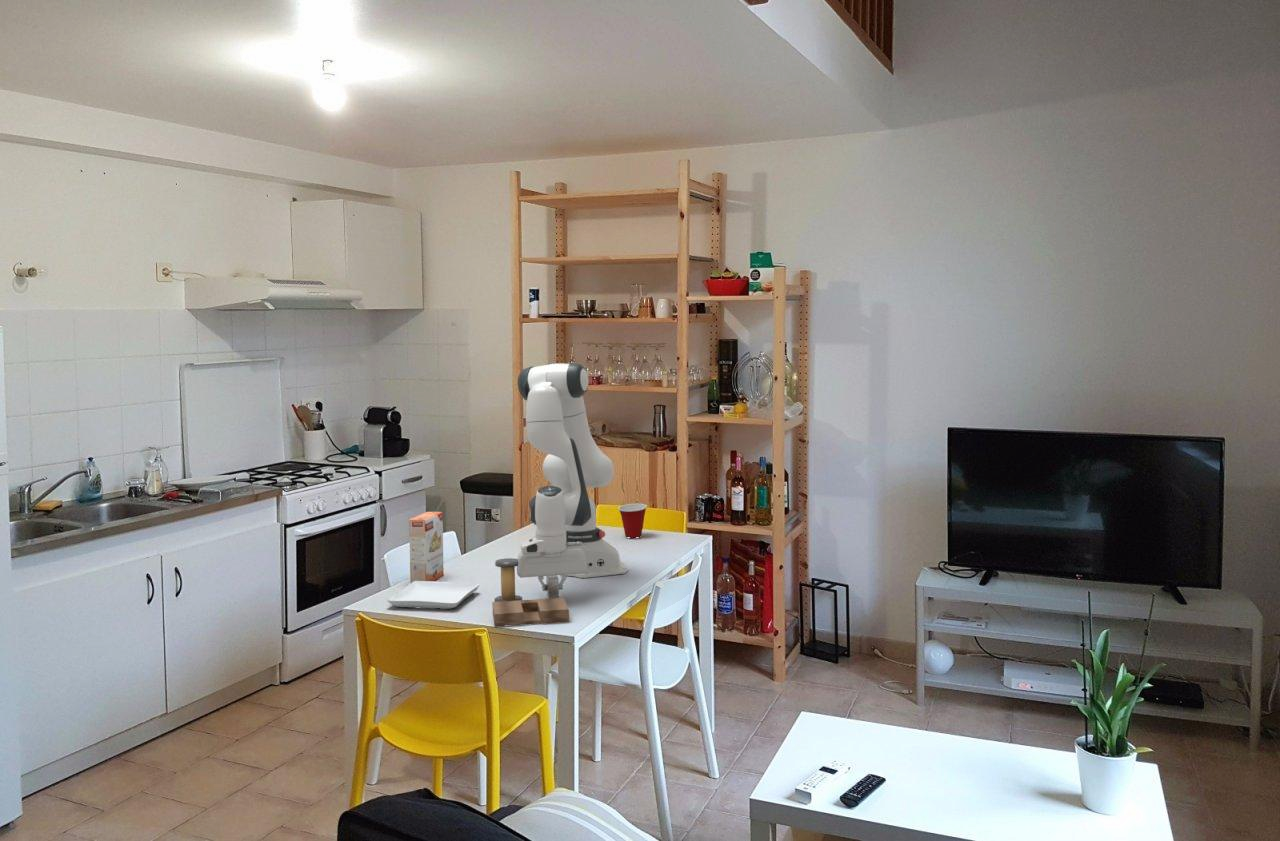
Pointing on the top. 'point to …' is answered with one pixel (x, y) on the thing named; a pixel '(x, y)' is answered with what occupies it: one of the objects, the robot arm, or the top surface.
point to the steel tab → (552, 586)
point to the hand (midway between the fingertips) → (552, 589)
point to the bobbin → (507, 580)
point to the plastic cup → (633, 519)
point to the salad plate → (433, 594)
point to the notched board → (530, 611)
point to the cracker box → (426, 546)
